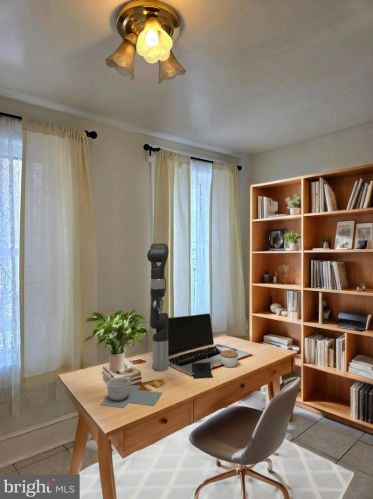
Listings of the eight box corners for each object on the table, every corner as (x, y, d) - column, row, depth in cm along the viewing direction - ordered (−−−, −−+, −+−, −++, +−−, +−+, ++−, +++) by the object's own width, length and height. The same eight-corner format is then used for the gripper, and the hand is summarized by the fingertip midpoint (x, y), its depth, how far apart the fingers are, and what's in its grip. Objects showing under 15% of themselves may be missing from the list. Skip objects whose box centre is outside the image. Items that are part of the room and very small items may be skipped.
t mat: (119, 384, 169) (119, 383, 169) (164, 388, 163) (164, 388, 163) (99, 404, 147) (99, 404, 147) (151, 411, 142) (151, 410, 142)
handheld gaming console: (195, 377, 173) (194, 359, 179) (191, 381, 179) (190, 363, 185) (214, 378, 176) (212, 360, 182) (210, 381, 182) (208, 364, 188)
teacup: (115, 405, 146) (115, 388, 146) (102, 397, 154) (102, 381, 153) (139, 395, 156) (139, 379, 156) (126, 388, 164) (126, 372, 163)
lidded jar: (216, 364, 195) (216, 349, 195) (229, 360, 201) (229, 346, 201) (229, 370, 186) (229, 354, 186) (241, 366, 193) (241, 350, 193)
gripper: (154, 285, 171) (154, 317, 171) (146, 288, 158) (146, 323, 159) (168, 285, 169) (168, 317, 170) (160, 289, 157) (161, 324, 157)
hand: (157, 320), depth 164 cm, fingers closed
